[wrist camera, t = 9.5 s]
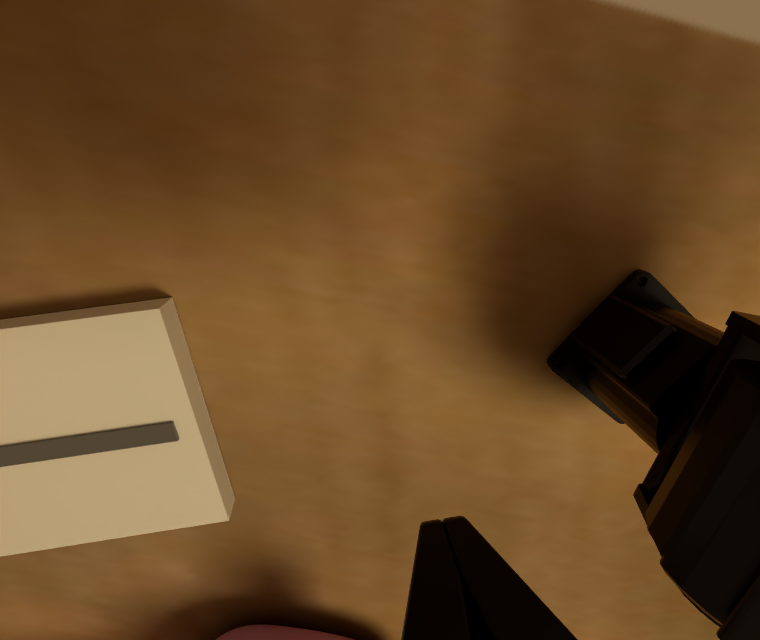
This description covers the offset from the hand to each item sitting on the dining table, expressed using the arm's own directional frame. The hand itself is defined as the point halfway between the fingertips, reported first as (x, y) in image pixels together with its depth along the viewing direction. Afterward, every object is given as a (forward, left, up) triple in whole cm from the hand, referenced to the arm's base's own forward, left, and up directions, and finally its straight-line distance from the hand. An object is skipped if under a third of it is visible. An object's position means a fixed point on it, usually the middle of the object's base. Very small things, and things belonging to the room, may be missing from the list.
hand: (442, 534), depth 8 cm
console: (+11, +17, -13) cm, 24 cm away
